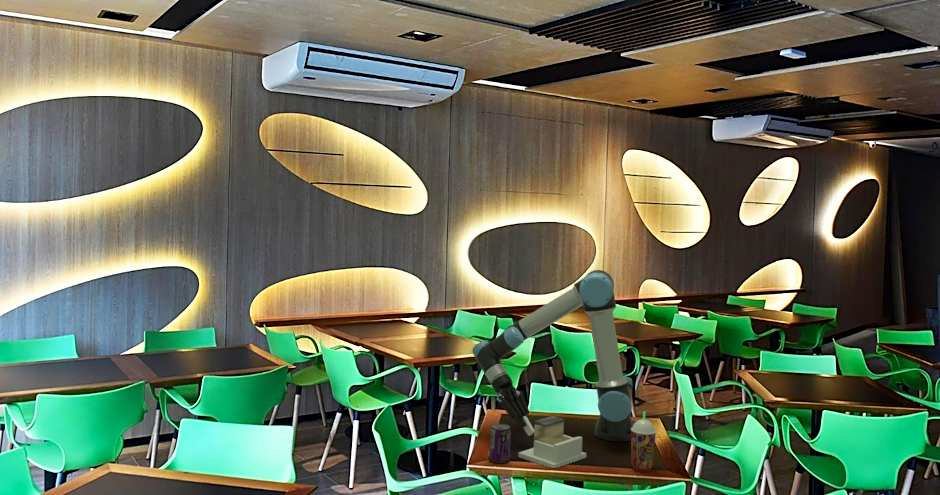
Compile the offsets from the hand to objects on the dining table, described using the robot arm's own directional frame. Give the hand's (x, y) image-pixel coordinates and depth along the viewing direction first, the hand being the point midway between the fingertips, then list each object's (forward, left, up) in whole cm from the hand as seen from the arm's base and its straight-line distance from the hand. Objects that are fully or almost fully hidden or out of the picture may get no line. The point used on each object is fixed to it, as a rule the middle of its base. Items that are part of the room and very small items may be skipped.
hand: (531, 433), depth 285 cm
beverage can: (+11, +12, -6) cm, 18 cm away
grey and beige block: (-6, +5, -4) cm, 9 cm away
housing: (-7, +7, -6) cm, 12 cm away
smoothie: (-37, +15, -6) cm, 40 cm away
